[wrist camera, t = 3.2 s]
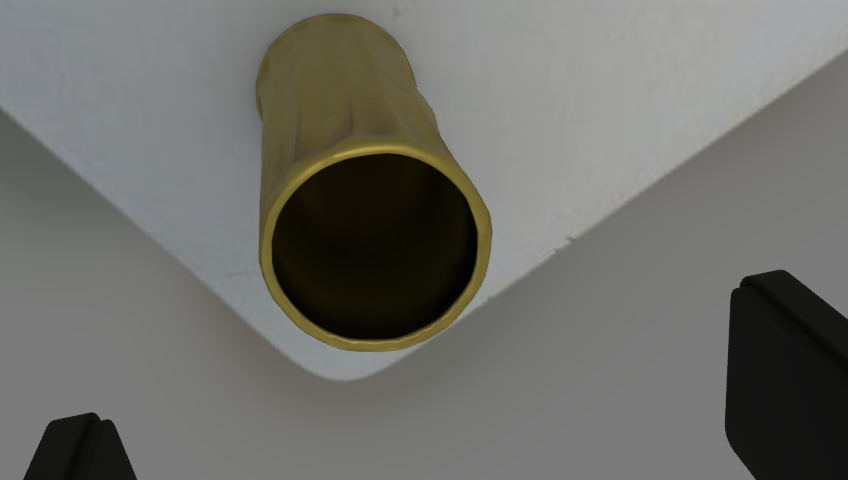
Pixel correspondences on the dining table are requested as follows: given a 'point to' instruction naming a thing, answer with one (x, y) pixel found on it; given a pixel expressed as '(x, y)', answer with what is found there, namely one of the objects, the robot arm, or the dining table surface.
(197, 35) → the dining table surface
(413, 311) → the vase
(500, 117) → the dining table surface
